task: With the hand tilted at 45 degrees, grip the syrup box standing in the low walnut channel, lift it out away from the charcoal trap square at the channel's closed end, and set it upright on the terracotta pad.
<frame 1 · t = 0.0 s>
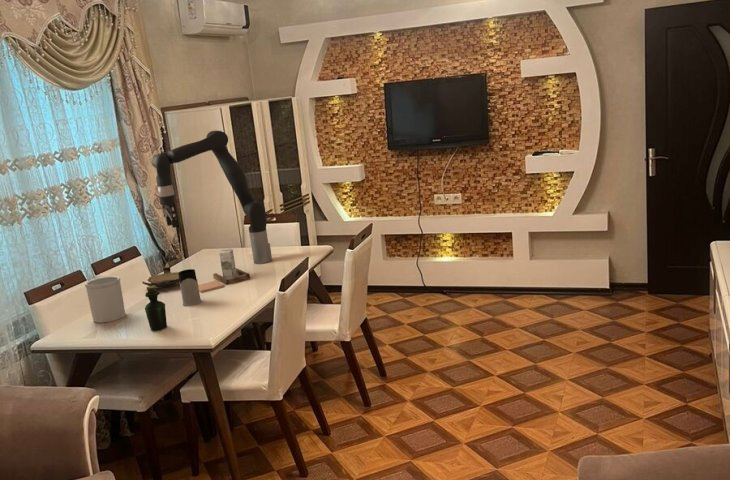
hand: (172, 226, 360), 29 cm above the table, tool pointing down, fingers open, 8 cm apart
terracotta pad: (208, 287, 350), on the table
potion bottle: (159, 328, 296), on the table
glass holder: (192, 301, 330), on the table
walnut channel: (231, 278, 361), on the table
syrup box: (230, 278, 363), resting in walnut channel
utensil holder: (110, 318, 320), on the table
oil lamp: (169, 284, 365), on the table
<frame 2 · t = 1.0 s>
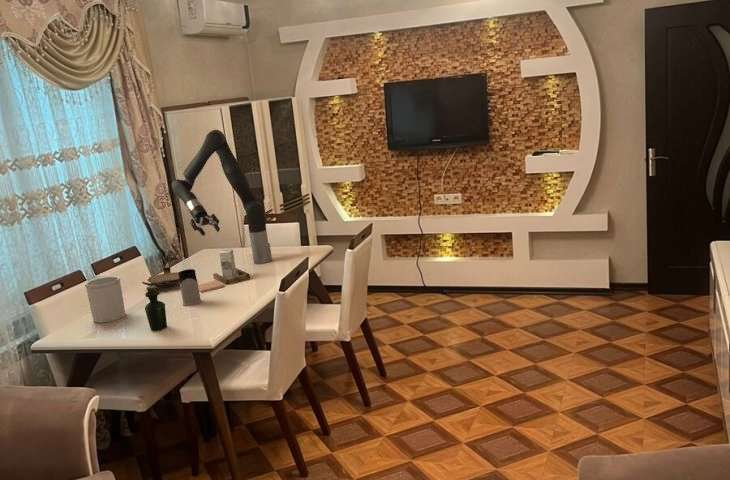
hand: (211, 232, 366), 23 cm above the table, tool tilted 45°, fingers open, 8 cm apart
nothing on the table moved.
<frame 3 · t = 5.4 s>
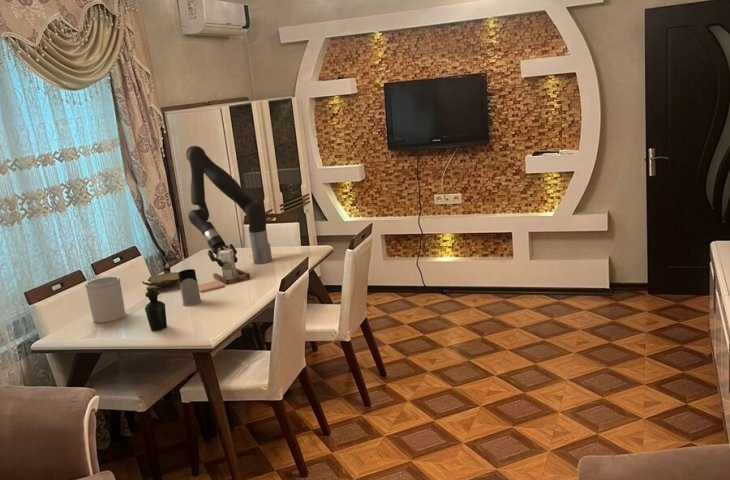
hand: (229, 263, 360), 8 cm above the table, tool tilted 45°, fingers closed on syrup box, 8 cm apart
syrup box: (230, 278, 363), resting in walnut channel, touching gripper
everything else where it was.
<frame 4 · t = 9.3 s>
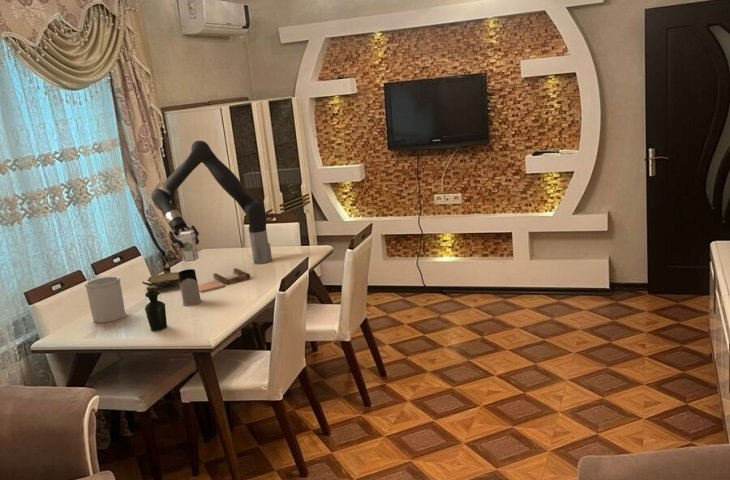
hand: (190, 245, 354), 20 cm above the table, tool tilted 45°, fingers closed on syrup box, 8 cm apart
syrup box: (191, 260, 357), point 12 cm above the table, touching gripper
everything else where it was.
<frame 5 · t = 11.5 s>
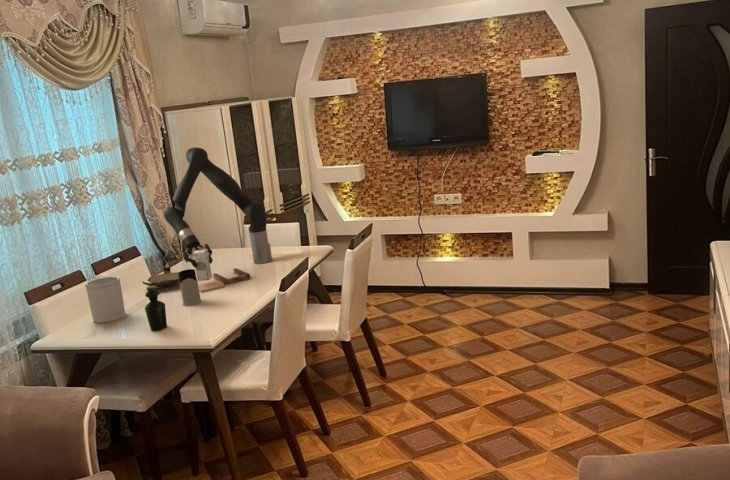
hand: (204, 264, 348), 12 cm above the table, tool tilted 45°, fingers closed on syrup box, 8 cm apart
syrup box: (205, 279, 351), point 4 cm above the table, touching gripper
everything else where it was.
when the fingers open (10 cm above the table, at t = 13.3 s): syrup box drops 1 cm, resting on terracotta pad.
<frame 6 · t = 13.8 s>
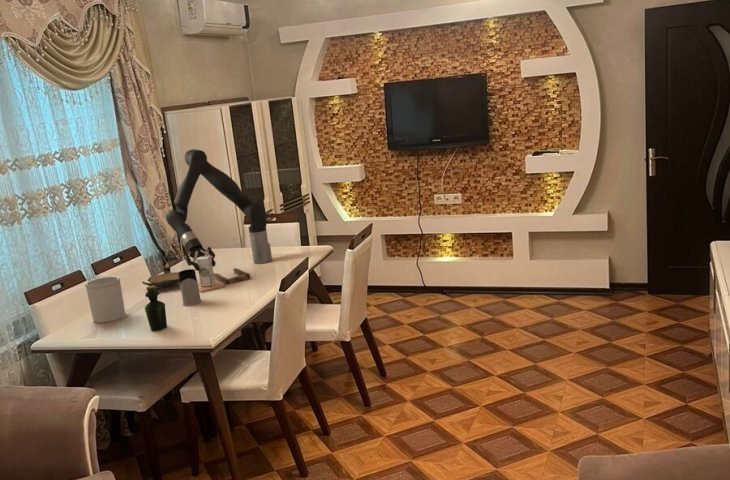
hand: (206, 267, 347), 10 cm above the table, tool tilted 45°, fingers open, 8 cm apart
syrup box: (208, 285, 350), point 1 cm above the table, touching terracotta pad
everything else where it was.
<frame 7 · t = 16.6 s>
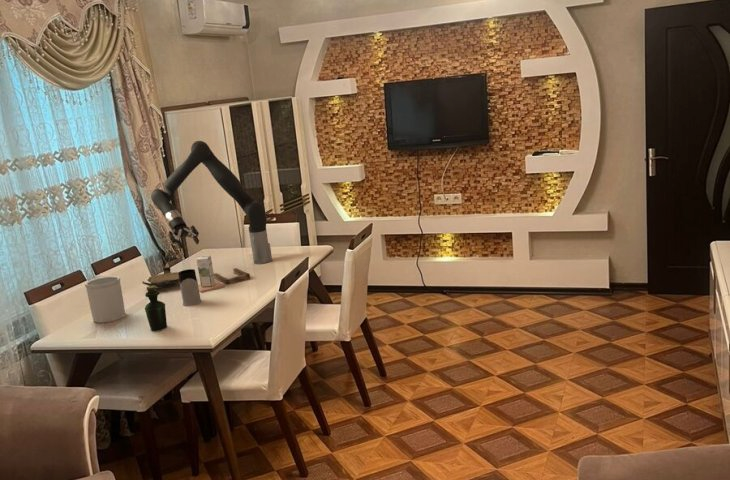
hand: (190, 245, 354), 20 cm above the table, tool tilted 45°, fingers open, 8 cm apart
nothing on the table moved.
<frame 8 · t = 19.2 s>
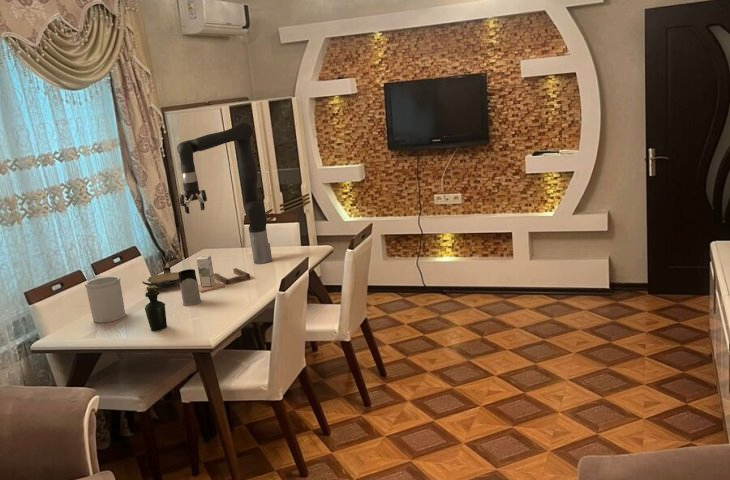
hand: (195, 211, 372), 33 cm above the table, tool pointing down, fingers open, 8 cm apart
nothing on the table moved.
at the end: syrup box inside the target area on the terracotta pad (0.2 cm from its centre), point 0.8 cm above the terracotta pad's base; syrup box tilted 0°; the gripper is holding nothing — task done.
